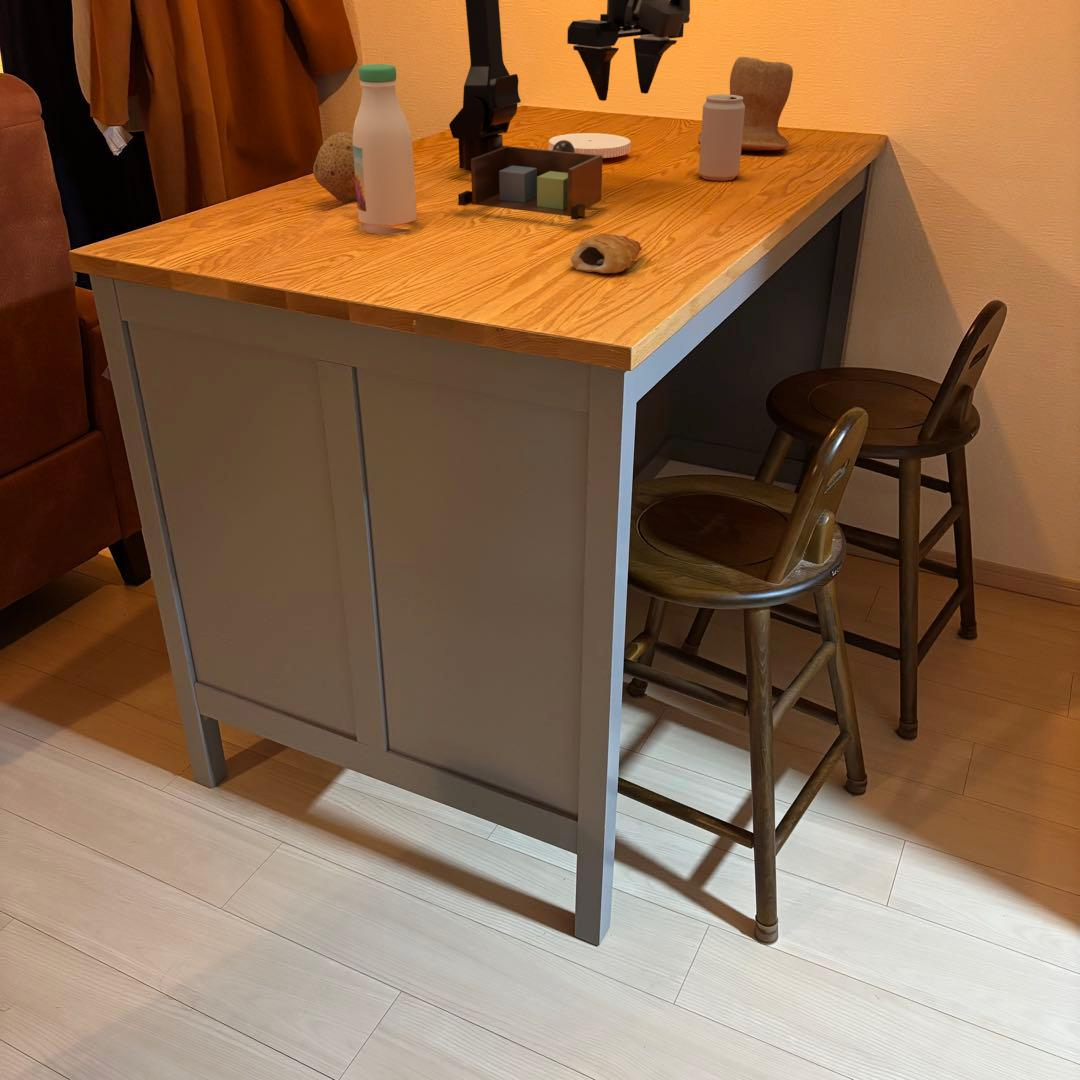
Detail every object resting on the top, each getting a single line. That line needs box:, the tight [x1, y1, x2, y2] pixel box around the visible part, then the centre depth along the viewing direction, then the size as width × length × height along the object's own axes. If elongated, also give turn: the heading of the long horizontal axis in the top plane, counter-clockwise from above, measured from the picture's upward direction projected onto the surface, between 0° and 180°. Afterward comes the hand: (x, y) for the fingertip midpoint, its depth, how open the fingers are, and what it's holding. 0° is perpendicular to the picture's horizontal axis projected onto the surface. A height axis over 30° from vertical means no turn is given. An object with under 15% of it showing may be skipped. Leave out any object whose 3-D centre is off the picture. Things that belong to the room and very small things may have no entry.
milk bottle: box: [352, 63, 418, 235], centre depth 138 cm, size 8×8×20 cm
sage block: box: [537, 171, 568, 210], centre depth 147 cm, size 4×4×4 cm
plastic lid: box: [548, 132, 632, 159], centre depth 183 cm, size 14×14×2 cm
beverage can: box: [698, 93, 745, 182], centre depth 167 cm, size 6×6×12 cm
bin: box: [470, 140, 603, 217], centre depth 151 cm, size 15×15×8 cm
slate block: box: [499, 165, 537, 203], centre depth 151 cm, size 4×4×4 cm
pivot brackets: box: [457, 190, 587, 221], centre depth 146 cm, size 19×2×3 cm, turn 64°
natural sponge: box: [312, 131, 357, 205], centre depth 151 cm, size 9×9×10 cm
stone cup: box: [697, 56, 794, 152], centre depth 186 cm, size 15×12×15 cm
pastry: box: [570, 233, 642, 274], centre depth 128 cm, size 9×7×4 cm
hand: (623, 96), depth 152 cm, fingers open, 9 cm apart
